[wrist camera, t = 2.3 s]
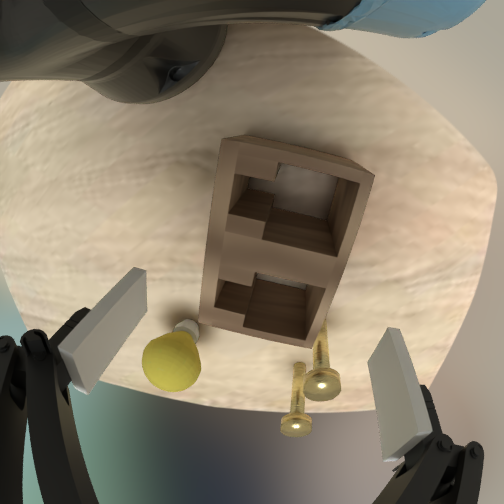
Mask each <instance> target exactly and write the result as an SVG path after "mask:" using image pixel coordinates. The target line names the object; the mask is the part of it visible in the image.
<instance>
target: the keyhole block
mask: <svg viewBox="0 0 504 504" xmlns="http://www.w3.org/2000/svg"><path fill="white" fill-rule="evenodd" d="M281 163H284V164H288V165H293V166H297V167H301V168H305V169H309V170H313V171H317V172H321V173H325V174H329V175H332V176H336V177H339V179H338V183H337V187H336V190H335V194H334V198H333V201H332V205H331V208H330V212H329V215H328V219H327V220H323V219H319V218H315V217H311V216H307V215H303V214H299V213H295V212H290V211H286V210H282V209H278V208H273V207H272V204H273V200H274V195H275V194H272V193H267V192H263V191H258V190H253V189H249V188H248V182H249V177H254V178H259V179H264V180H268V181H273V182H274V181H275V178H276V176H277V174H278V171H279V169H280V166H281ZM374 177H375V175H374V174H372V173H371V172H369V171H368V170H366V169H365V168H363V167H362V166H360V165H359V164H357V163H356V162H354V161H352V160H349V159H346V158H342V157H339V156H335V155H332V154H328V153H324V152H320V151H316V150H312V149H308V148H304V147H300V146H296V145H291V144H287V143H282V142H278V141H273V140H268V139H263V138H258V137H253V136H247V135H241V136H235V137H229V138H224V139H222V140H221V146H220V152H219V158H218V164H217V171H216V177H215V184H214V191H213V197H212V204H211V212H210V219H209V227H208V234H207V242H206V251H205V259H204V268H203V277H202V286H201V296H200V306H199V317H198V322H199V323H202V324H206V325H210V326H213V327H217V328H221V329H225V330H229V331H233V332H237V333H241V334H245V335H249V336H253V337H257V338H262V339H266V340H271V341H275V342H280V343H285V344H289V345H294V346H299V347H304V348H310V349H312V347H313V345H314V342H315V340H316V338H317V336H318V333H319V331H320V329H321V327H322V324H323V322H324V320H325V317H326V315H327V312H328V310H329V308H330V305H331V303H332V300H333V298H334V295H335V293H336V290H337V288H338V285H339V282H340V280H341V277H342V275H343V272H344V269H345V266H346V264H347V261H348V258H349V255H350V253H351V250H352V247H353V244H354V241H355V238H356V235H357V232H358V229H359V226H360V223H361V220H362V217H363V214H364V211H365V207H366V204H367V201H368V198H369V194H370V191H371V187H372V184H373V180H374ZM257 273H261V274H266V275H270V276H274V277H278V278H283V279H287V280H291V281H296V282H300V283H304V284H307V286H306V289H305V290H303V289H299V288H295V287H290V286H286V285H281V284H277V283H273V282H269V281H264V280H260V279H256V276H257Z"/></svg>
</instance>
